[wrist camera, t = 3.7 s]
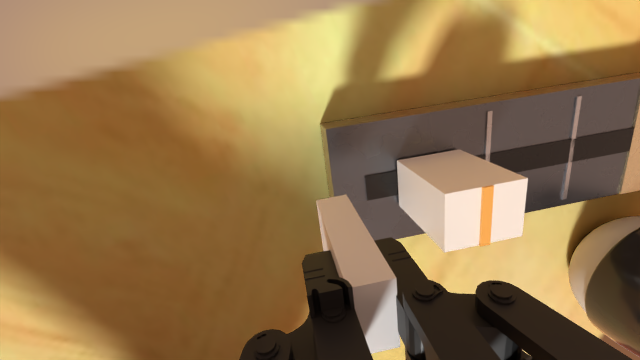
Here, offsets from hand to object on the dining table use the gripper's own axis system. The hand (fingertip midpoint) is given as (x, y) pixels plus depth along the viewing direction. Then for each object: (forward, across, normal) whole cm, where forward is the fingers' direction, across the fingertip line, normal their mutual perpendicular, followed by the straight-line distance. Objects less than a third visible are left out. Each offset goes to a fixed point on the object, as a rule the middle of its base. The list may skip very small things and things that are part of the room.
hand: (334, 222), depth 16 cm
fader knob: (+4, +7, 0) cm, 8 cm away
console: (+6, +15, 0) cm, 16 cm away
